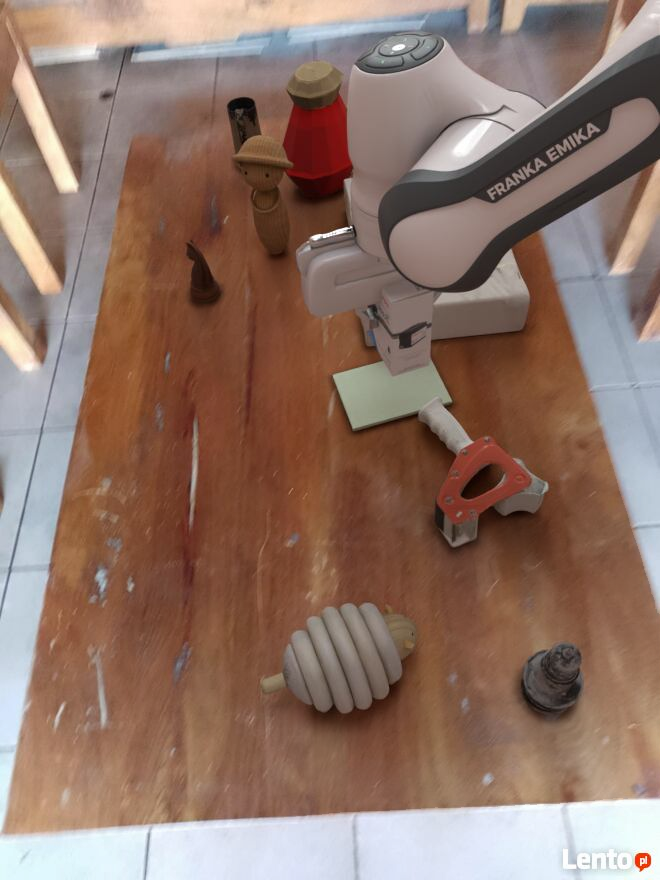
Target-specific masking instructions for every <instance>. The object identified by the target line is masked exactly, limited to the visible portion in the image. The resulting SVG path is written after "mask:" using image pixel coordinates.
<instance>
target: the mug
mask: <svg viewBox="0 0 660 880" xmlns="http://www.w3.org/2000/svg"><path fill="white" fill-rule="evenodd" d="M226 110H227V115H228V120H229V125H230V131H231V136H232V137H231V138H232V142H233V148H234V155H237V154H238V152H239V151H240V149H241V147H242V145H243V144H244V143H245V141H247V140H248V139H249V138H251V137H253V136H258V135H263V134H262V130H261V125H260V120H259V115H258V109H257V105H256V101H255V100H254V99H253V98H252V97H248V96H240V97H239V96H238V97H235V98H233V99H231V100H229V101H228V102H227V104H226ZM236 166H237V167H238V169H240V170H242V164H239V163H236Z"/></svg>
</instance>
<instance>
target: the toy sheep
mask: <svg viewBox="0 0 660 880" xmlns="http://www.w3.org/2000/svg"><path fill="white" fill-rule="evenodd" d="M384 609H385V613H381V612H380V610H379V609H378V607H377V606H376V605H375V604H374V603H372V602H364V603H362V604H361V605H359V607H357V606H356V605H355V604H353V603H351V602H350V603H349V602H347V603H344V604H342V605H341V606H340V608H339V610H338V608H336V607H334V606H326V607H325V608H324V609H323V610H322V612H321V616H320V617H319V616H317V615H312V616H309V617H308V618H307V620H306V622H305V628H306V630H304V629H299V630H295V631H294V632H293V633H292V634H291V636H290V643H288V644H287V646H286V648H285V650H284V654H283V659H282V672H280V673H277V674H274V675H272V676H269V677H265V678H264V679H262V680H261V681H260V683H259V686H260V690H261V692H262V694H263V695H266V696H267V695H270V694H273V693H276V692H278V691H281V690H284V689H287V688H289V690H290V692H291V693H292V694H293V695H294V697H296V698H297V699H298V700H300V701H301V702H302V703H304V704H306V705H309V706H312V705H314V708H315V709H316V710H317V711H319V712H321V713H327V712H328V711H329V710H330V709H331V708H332V707H333V705H334V706H335V707H336V709H337V710H338V712H340V713H341V714H349V713H350V712H352V711H353V709H354V706H355V707H356V708H357V709H359V710H367V709H368V708H369V709H370V707H371V705H372V703H373V698H374V699H376V700H383V699H386V698H387V696H388V694H389V692H390V686H389V685H395V683H396V682H398V681H399V680H400V679H401V678H402V675H403V665H402V662H401V661H403V660H404V659H406V658H407V657H408V656H409V655H410V654H411V653H412V652H413V651H414V650H415V648H416V646H417V644H418V641H419V638H420V637H419V635H420V634H419V629H418V626H417V624H416V623H415V622H414V621H413V620H412V619H411V618H409V617H408V616H406V615H403V614H400V613H394V611H395V608H394V607H393V606H392V605H390V604H385V606H384Z"/></svg>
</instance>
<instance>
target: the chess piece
mask: <svg viewBox="0 0 660 880" xmlns="http://www.w3.org/2000/svg"><path fill="white" fill-rule="evenodd" d="M189 240H190V241H185V242H184V243H185V245H186V248H187V249H186V253H185V255H186V257H187V259H188V260H190V261H193V262H194V263H193V264H192V268H191V271H190V283H189V284H190V288H189V289H190V290H189V291H190V295H191V298H192V300H193V301H194V302H195V303H198V304H201V305H203V304H210V303H213V302H215V301H216V300H217V299H218V298H219V297H220V295H221V288H220V286H219V283H218V281H217V280H216V278H215V276H213V274H212V271H211V269H210V266H209V264H208V262H207V260H206V258H205V256H204V255H203V253H202V251H201V250H200V249H199V247H198V246H197V245H196V244H195V243H194V241H193V240H192V239H191V238H190V239H189Z"/></svg>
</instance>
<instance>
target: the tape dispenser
mask: <svg viewBox="0 0 660 880" xmlns="http://www.w3.org/2000/svg"><path fill="white" fill-rule="evenodd" d="M417 414H418V415H417V416H418V420H419V421H420V422H421V423H424V424H426V425H427V426H428V427H429V428H430V431H431V432H432V433H434V434H435V435H436V436H438V438H439V440H440V441H441V442H443V443H444V444H445V445H446V448H447V449H448V450H449V451H451V452H453V453H454V454H455V455H456V458H455V459H454V461H453V463H452V466H451V468H450V469H449V472H448V474H447V477H446V479H445V481H444V483H443V485H442V487H441V489H440V491H439V493H438V494H437V496H436V498H435V499H434V500H435V502H434V523H435V525H436V527H437V528H438V529H439V531H440V532H441V534H442V535H443V537H444V538H445V540H446V541H447V542H448V544H449V545H450V547H452V548H456V547H457V548H458V547H460V546H462V545H465V544H467V543H470V542H473V541H475V540H476V539H477V537H478V524H479V516H480V514H481V513H483V512H484V511H485V510H488V508H489V507H492V506H493V508H494V510H496V511H497V513H499V514H500V515H501V516H504V517H506V516H507V515H509V514H511V513H514V512H517V511H525V512H528V513H531V514H535V513H536V512H537V511H538V509H539V508H540V507H541V505H542V504H543V501H544V497H545V493H546V492H548V491H549V484H548V482H547V481H544V480H542V479H540V478H539V477H537V476H536V475H534V474H533V473H531V472H530V471H529V470H528V469H527V467H526V466H525V464H524V462H523V460H522V459H519V458H516V457H512V456H511V455H510V454H508V453H507V452H505V451H504V449H502V447H500V446H499V445H498V443H496V441H495V439H494V438H493V437H491V436H490V435H484V436H482V437H480V438H478V439H477V440H475V441H474V440H472V439H471V438H470V436H469V435H468V434H467V432H466V431H465V429H464V428H463V426H462V425H461V424H460V422H459V421H458V420H457V419H456V418H455V417H454V416H453V414H452V413H451V412H450V411H448V410H447V408H445V406H443V404H442V399H441V398H439V397H436V398H434V399H433V400H431V401H430V402H429V403H427V404H426V405H425V406H423V407H422V409H421V410H420V412H419V413H417ZM490 464H497V465H498V466H500V468H501V470H502V471H503V473H502V478H501V481H500V482H499V483H498V484H497V485H496V486H495V487H494V488H492V489H491V490H488V491H487V492H485V493H482V494H480V495H479V496H477V497H474V498H470V499H467V498H465V497H463V496H462V492H463V491H464V489H465V487H466V486H467V485H468V483H469V482H470V481H471V480H472V479H473V477H474V476H475V475H477V474H478V473H479V471H481V470H483V469H484V468H486V467H487V466H489V465H490Z"/></svg>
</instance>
